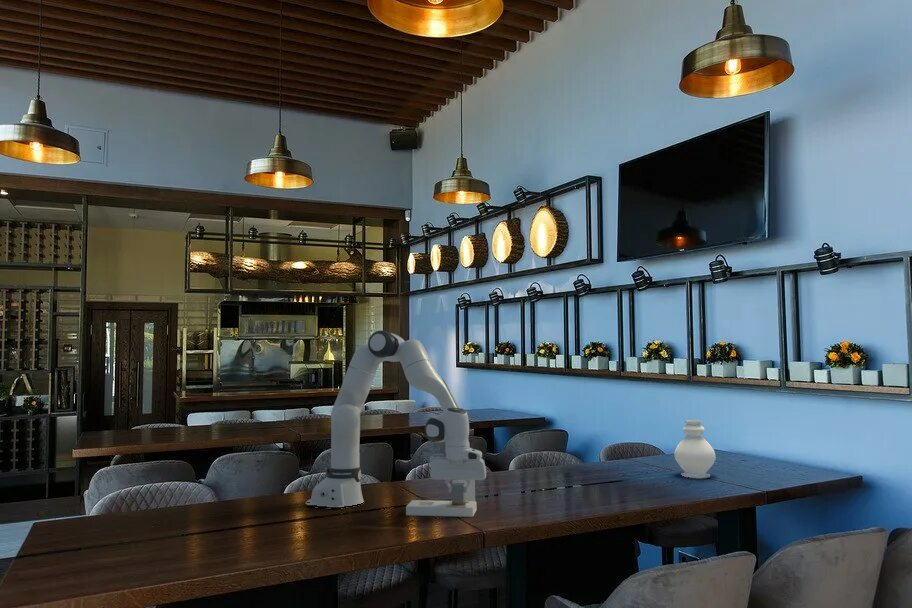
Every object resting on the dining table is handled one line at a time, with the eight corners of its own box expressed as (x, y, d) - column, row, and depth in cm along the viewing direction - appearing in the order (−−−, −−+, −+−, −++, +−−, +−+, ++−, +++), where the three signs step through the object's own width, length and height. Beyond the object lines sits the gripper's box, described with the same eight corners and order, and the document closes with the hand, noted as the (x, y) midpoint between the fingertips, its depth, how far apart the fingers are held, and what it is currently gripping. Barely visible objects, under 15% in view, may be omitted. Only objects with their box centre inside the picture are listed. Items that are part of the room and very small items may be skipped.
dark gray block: (452, 505, 236) (451, 485, 236) (454, 502, 240) (453, 482, 240) (463, 505, 235) (462, 485, 236) (464, 502, 239) (464, 482, 240)
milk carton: (457, 505, 253) (456, 455, 254) (452, 501, 259) (452, 452, 261) (475, 504, 254) (474, 454, 256) (470, 500, 261) (469, 451, 263)
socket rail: (406, 517, 235) (406, 505, 235) (412, 511, 245) (412, 499, 245) (472, 519, 231) (472, 507, 232) (476, 512, 241) (476, 500, 241)
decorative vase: (667, 473, 309) (665, 419, 311) (699, 471, 314) (697, 418, 316) (691, 480, 292) (689, 423, 294) (725, 477, 297) (722, 421, 299)
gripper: (427, 454, 237) (428, 493, 236) (484, 454, 234) (485, 494, 233) (431, 451, 244) (431, 489, 243) (486, 452, 240) (487, 490, 239)
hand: (458, 492), depth 238 cm, fingers closed on dark gray block, 4 cm apart
